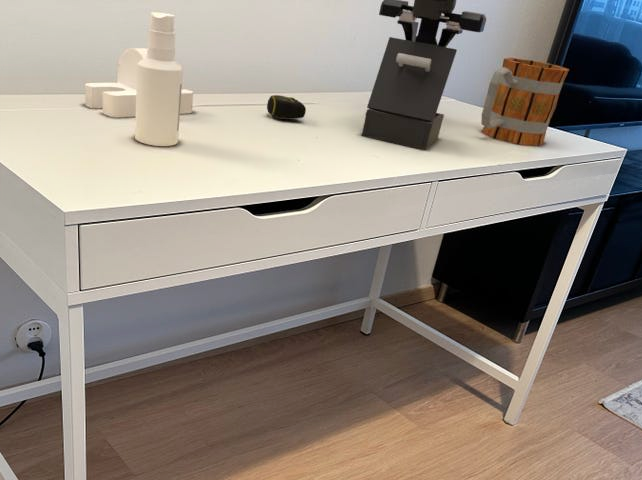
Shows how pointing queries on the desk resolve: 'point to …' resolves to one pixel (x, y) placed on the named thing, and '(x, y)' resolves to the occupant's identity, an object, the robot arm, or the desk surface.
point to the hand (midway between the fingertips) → (420, 65)
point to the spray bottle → (159, 86)
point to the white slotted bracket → (125, 89)
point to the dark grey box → (401, 129)
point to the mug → (522, 101)
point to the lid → (411, 79)
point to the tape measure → (285, 107)
